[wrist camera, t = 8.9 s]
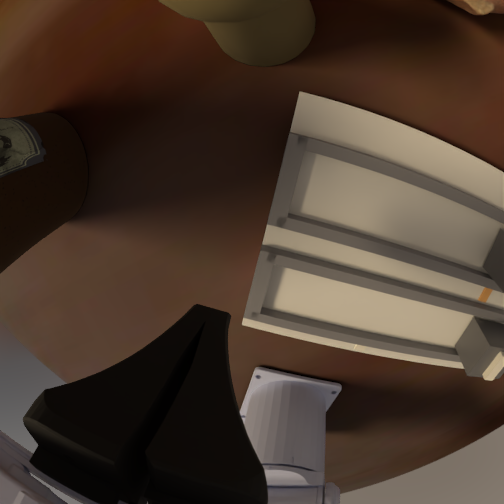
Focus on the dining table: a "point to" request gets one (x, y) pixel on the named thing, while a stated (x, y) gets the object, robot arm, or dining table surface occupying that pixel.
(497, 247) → the fader tab
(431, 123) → the dining table surface
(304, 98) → the console board
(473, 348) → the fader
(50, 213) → the olive oil
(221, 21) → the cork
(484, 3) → the ceramic jug
